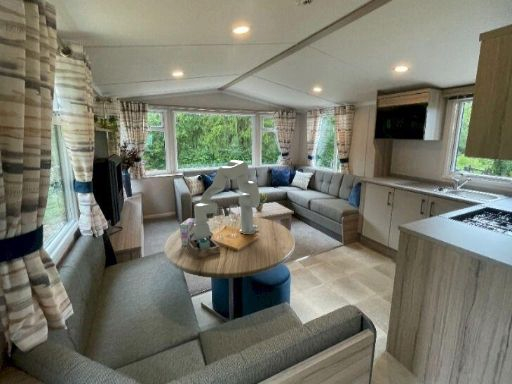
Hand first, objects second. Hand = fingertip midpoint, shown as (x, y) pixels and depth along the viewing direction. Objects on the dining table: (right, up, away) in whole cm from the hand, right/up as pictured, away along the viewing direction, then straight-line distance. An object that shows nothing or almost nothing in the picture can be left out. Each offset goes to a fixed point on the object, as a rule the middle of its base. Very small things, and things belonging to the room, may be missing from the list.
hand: (203, 246), depth 173 cm
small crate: (0, -1, 0) cm, 1 cm away
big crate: (0, -3, +1) cm, 3 cm away
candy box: (-13, 0, +15) cm, 20 cm away
